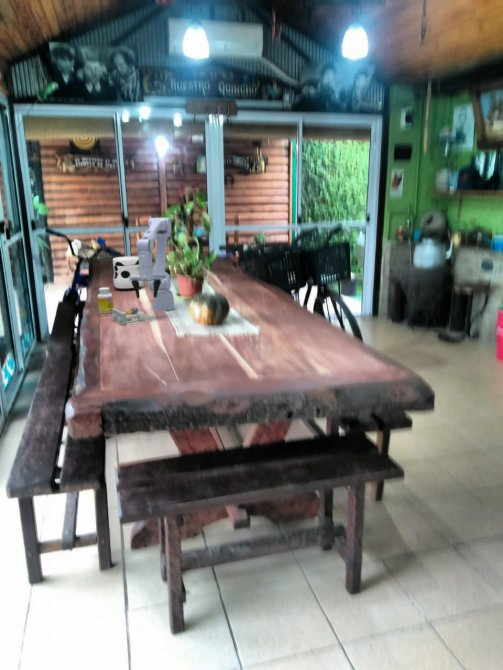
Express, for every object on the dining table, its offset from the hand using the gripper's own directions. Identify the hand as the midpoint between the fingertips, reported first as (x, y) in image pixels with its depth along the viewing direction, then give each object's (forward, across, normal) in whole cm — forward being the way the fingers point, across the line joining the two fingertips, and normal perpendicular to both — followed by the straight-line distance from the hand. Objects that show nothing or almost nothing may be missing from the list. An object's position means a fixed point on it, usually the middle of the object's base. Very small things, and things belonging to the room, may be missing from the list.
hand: (146, 297), depth 231 cm
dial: (+10, -8, +3) cm, 13 cm away
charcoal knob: (+9, -8, +7) cm, 14 cm away
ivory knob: (+10, -7, -1) cm, 12 cm away
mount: (+10, -5, +3) cm, 12 cm away
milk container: (-1, +9, +80) cm, 80 cm away
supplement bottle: (+9, -14, +20) cm, 27 cm away
